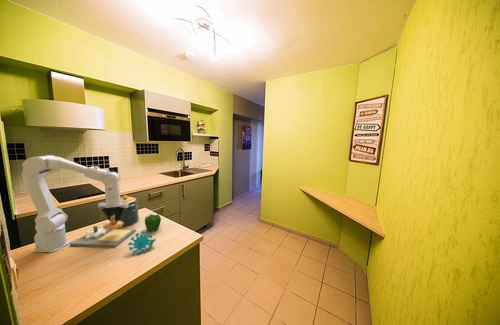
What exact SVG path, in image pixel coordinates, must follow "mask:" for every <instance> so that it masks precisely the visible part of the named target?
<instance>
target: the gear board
mask: <svg viewBox="0 0 500 325" xmlns="http://www.w3.org/2000/svg"><path fill="white" fill-rule="evenodd" d="M92 228H93V229H91V230H87V231H85V233H84V234H82V236H81V237H79V238H77V239H75V240H74V241H72V242H71V243H69V244H70V245H69V246H70V247H71V246H72V247H96V248H97V247H98V248H117V247H118V246H119V245H121V244H122V243H123V242H124V241H125V240H127V239H128V238H129V237H131V236H132V235H134V233H135V232H137V231H136V230H137V229H134V228H133V229H132V228H116V229H109V230H106V229H103V226H102V227H98V225H94V226H93V227H92Z"/></svg>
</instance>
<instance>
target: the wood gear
mask: <svg viewBox="0 0 500 325" xmlns="http://www.w3.org/2000/svg"><path fill="white" fill-rule="evenodd" d="M122 225H124V222H121V221H116V220H115V215H114V216H111V217H110V221H109V223H108V222H106V223H105V224H103V225H102V227H103V229H106V230H109V229H119V228H123V227H122Z"/></svg>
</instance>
